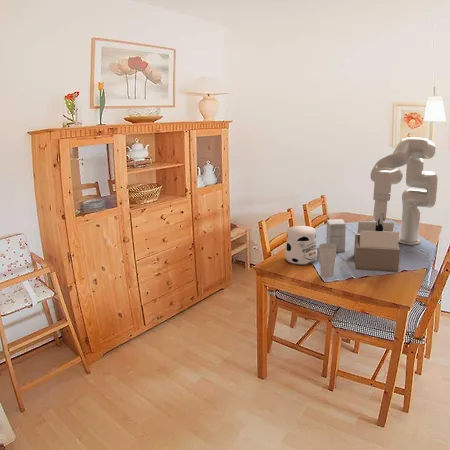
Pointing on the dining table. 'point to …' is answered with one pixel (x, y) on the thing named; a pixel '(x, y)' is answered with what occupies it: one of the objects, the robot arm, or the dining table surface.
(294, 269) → the dining table surface
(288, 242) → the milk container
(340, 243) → the small drawer cabinet
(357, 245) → the carton
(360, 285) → the dining table surface
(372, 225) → the back flap
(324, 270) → the cup
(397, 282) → the dining table surface
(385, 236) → the front flap
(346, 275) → the dining table surface
